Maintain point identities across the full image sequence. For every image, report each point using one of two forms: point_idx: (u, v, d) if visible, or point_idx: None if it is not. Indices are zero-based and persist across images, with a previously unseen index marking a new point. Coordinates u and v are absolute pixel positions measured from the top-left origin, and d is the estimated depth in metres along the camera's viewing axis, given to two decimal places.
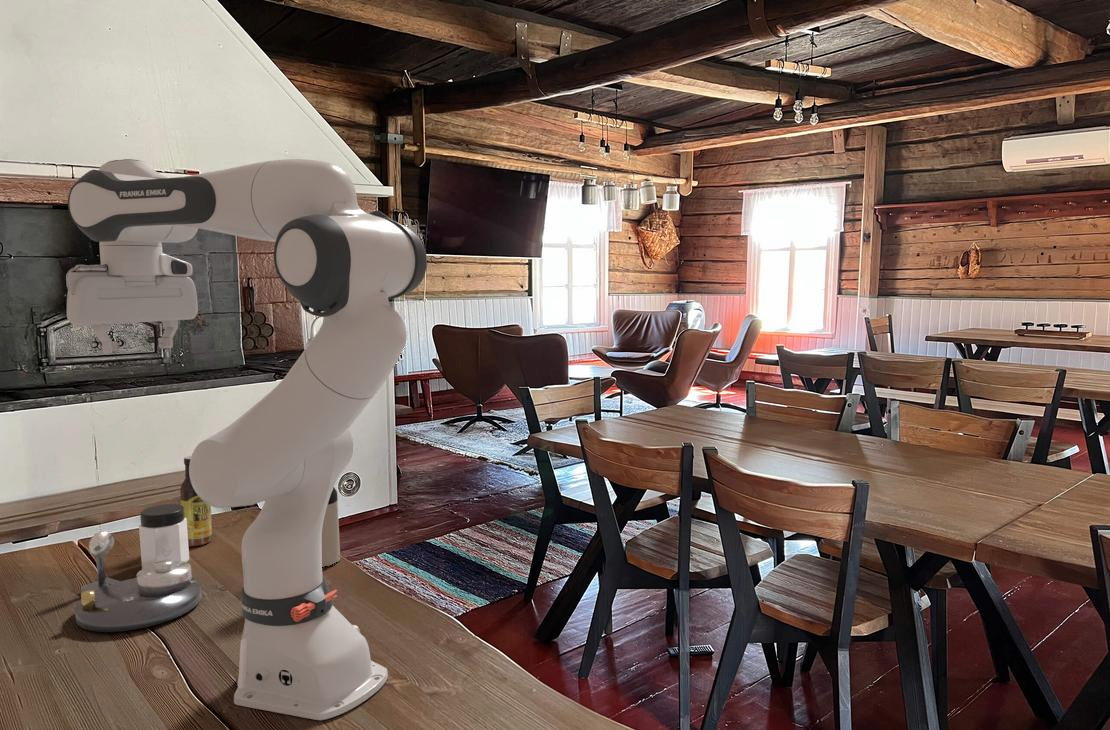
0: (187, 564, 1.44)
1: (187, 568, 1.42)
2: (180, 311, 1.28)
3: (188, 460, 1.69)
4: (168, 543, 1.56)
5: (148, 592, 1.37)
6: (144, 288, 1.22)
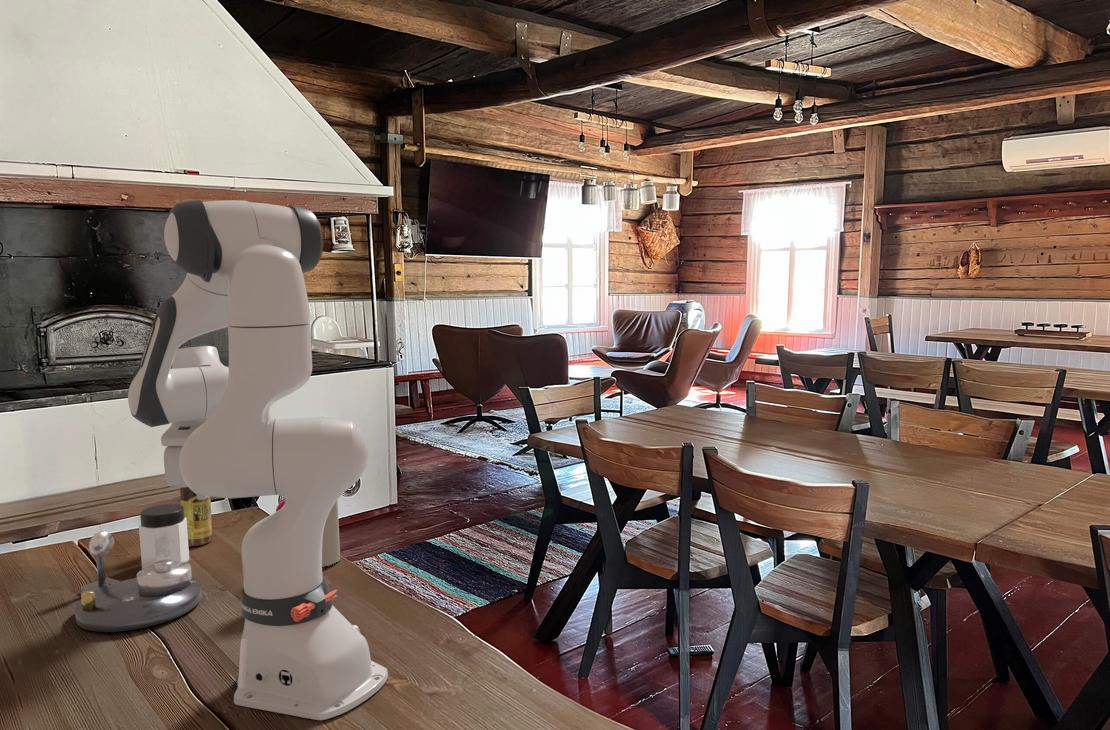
0: (187, 564, 1.44)
1: (187, 568, 1.42)
2: None
3: None
4: (168, 543, 1.56)
5: (148, 592, 1.37)
6: None
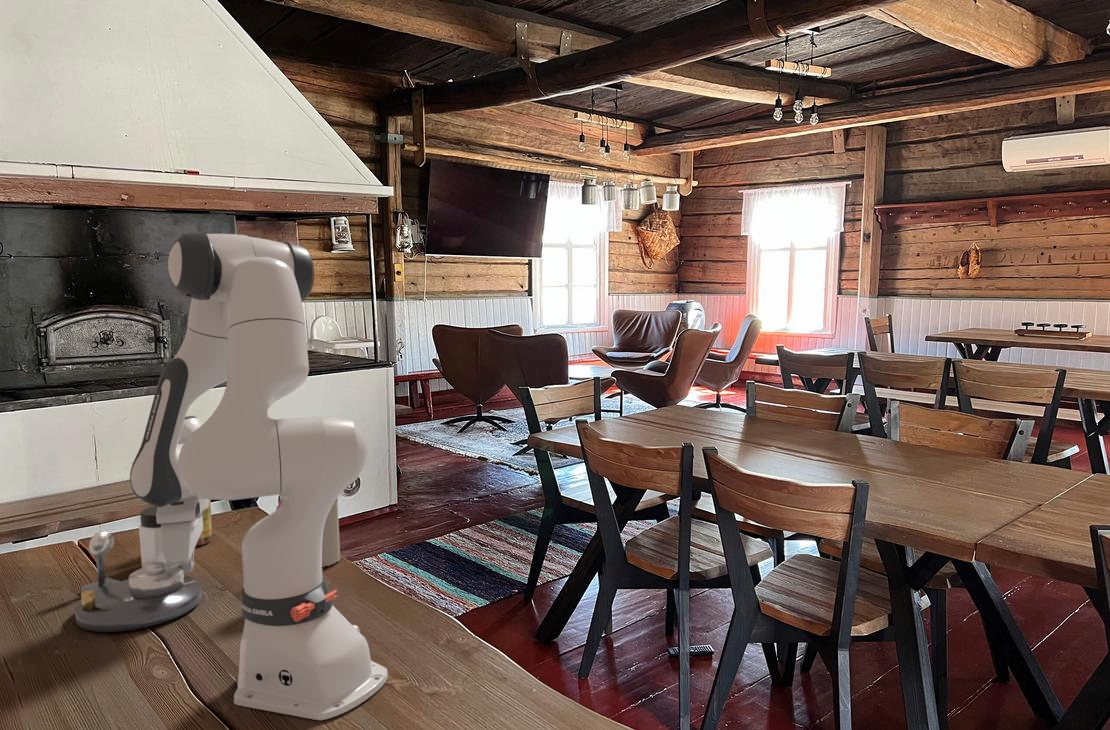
0: (180, 566, 1.43)
1: (179, 571, 1.41)
2: None
3: None
4: None
5: (139, 595, 1.36)
6: None
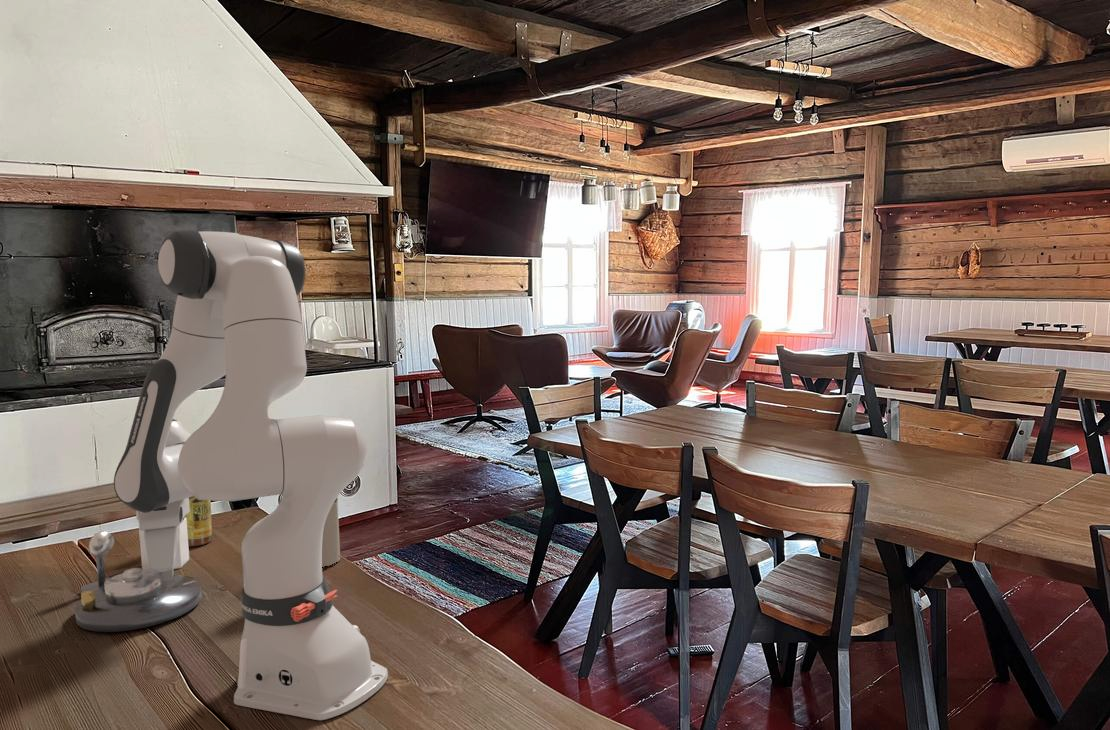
0: (158, 573, 1.40)
1: (155, 578, 1.38)
2: None
3: None
4: None
5: (112, 601, 1.34)
6: None
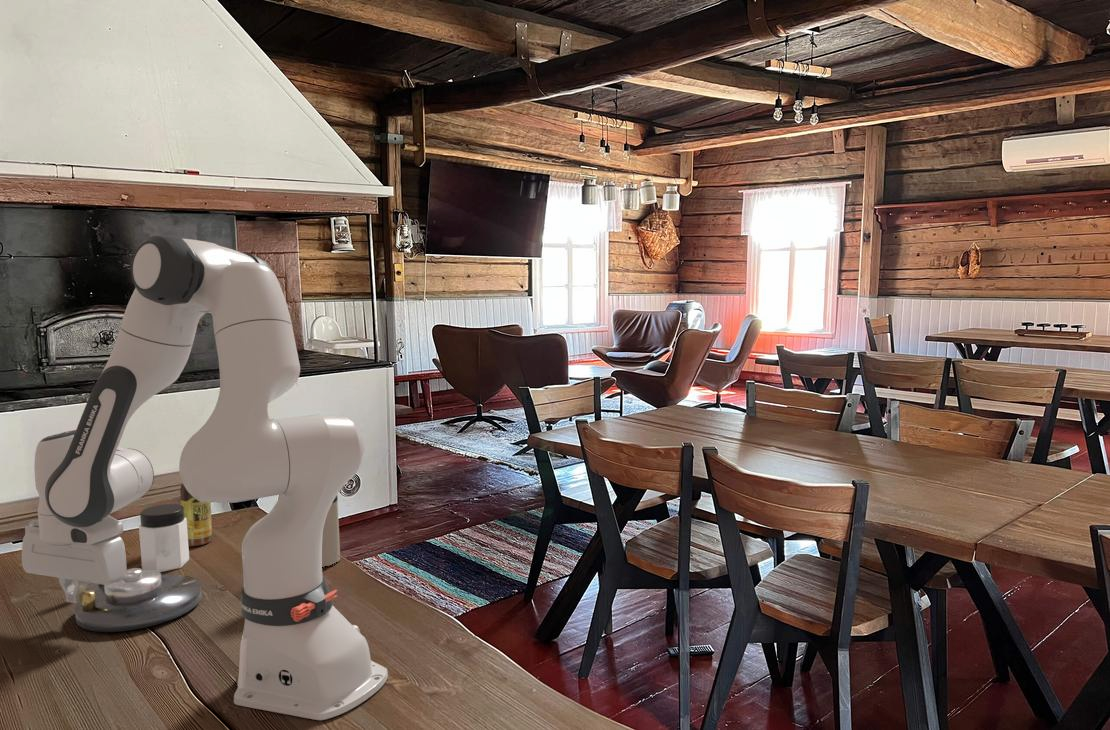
0: (158, 573, 1.40)
1: (155, 578, 1.38)
2: (93, 576, 1.28)
3: None
4: (168, 543, 1.56)
5: (113, 601, 1.34)
6: (65, 549, 1.29)
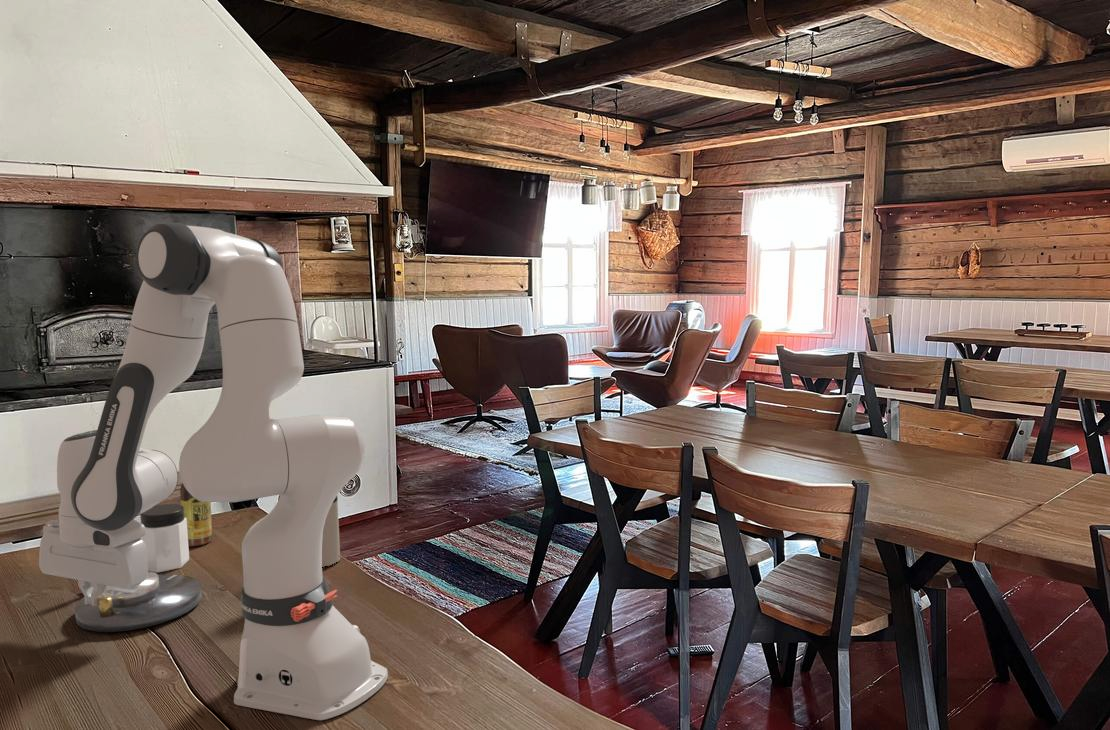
0: (148, 572, 1.41)
1: (154, 575, 1.39)
2: (114, 579, 1.25)
3: None
4: (168, 543, 1.56)
5: (126, 603, 1.33)
6: (86, 550, 1.27)
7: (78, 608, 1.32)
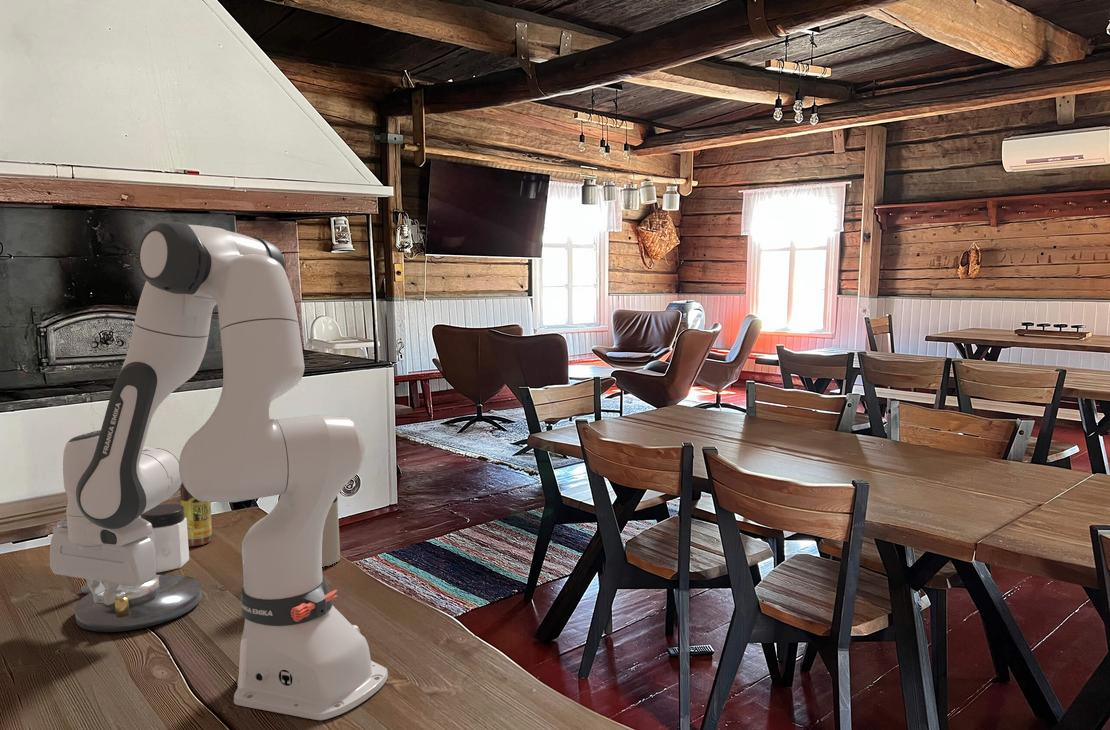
0: None
1: None
2: (123, 577, 1.26)
3: None
4: (168, 543, 1.56)
5: (136, 602, 1.33)
6: (94, 550, 1.28)
7: (83, 614, 1.30)
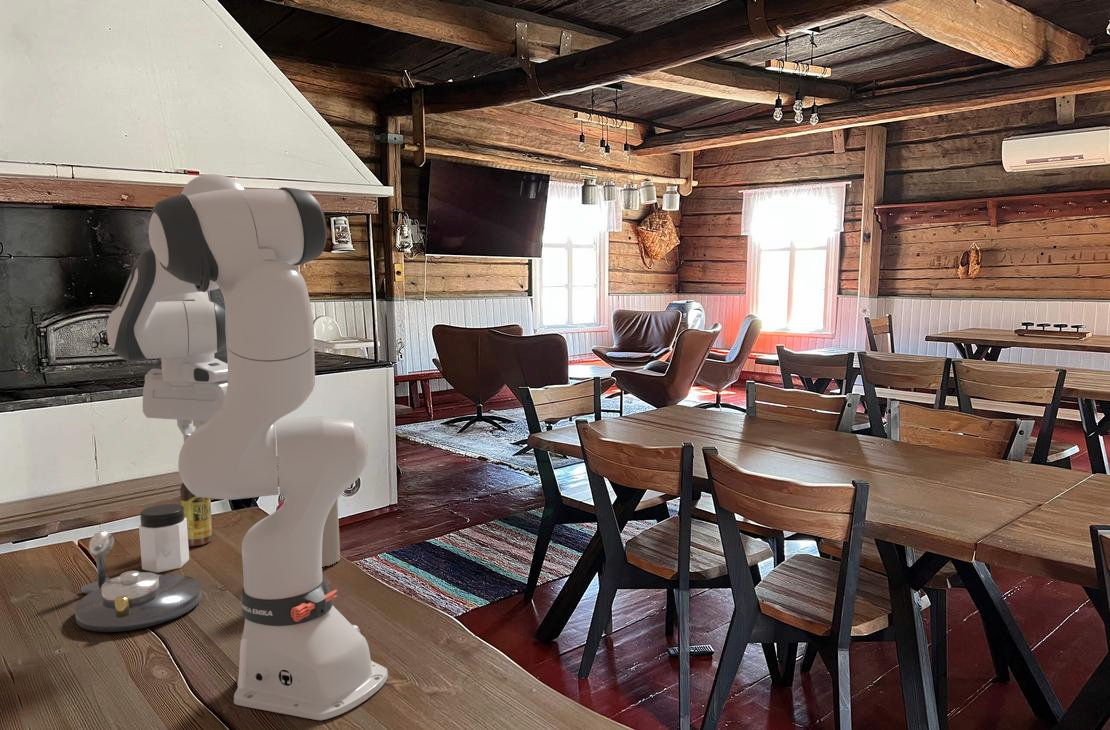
0: (141, 572, 1.41)
1: (152, 574, 1.40)
2: (213, 414, 1.37)
3: None
4: (168, 543, 1.56)
5: (136, 602, 1.33)
6: (186, 391, 1.38)
7: (83, 614, 1.30)
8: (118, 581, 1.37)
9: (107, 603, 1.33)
